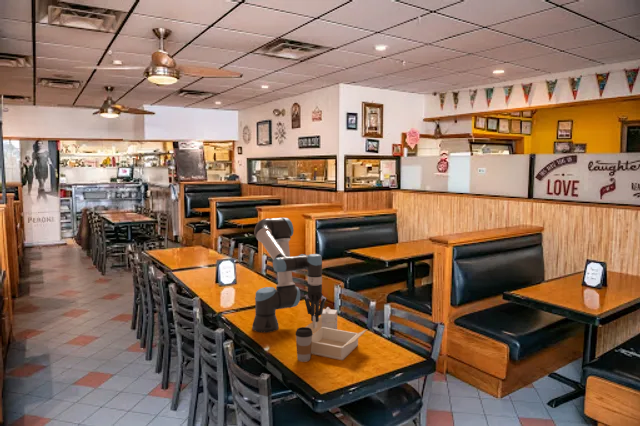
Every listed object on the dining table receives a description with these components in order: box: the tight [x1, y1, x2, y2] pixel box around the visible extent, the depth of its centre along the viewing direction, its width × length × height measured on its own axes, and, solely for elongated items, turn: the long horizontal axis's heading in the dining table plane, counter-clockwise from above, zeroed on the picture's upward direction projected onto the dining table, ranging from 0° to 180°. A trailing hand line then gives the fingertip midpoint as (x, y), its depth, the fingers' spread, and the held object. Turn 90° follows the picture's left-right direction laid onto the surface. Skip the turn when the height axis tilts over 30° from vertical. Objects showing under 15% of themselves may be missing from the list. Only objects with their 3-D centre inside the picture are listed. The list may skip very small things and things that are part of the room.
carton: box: [311, 327, 359, 361], centre depth 237 cm, size 21×22×6 cm
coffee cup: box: [295, 326, 312, 363], centre depth 223 cm, size 8×8×15 cm
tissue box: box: [320, 306, 338, 330], centre depth 262 cm, size 9×8×13 cm
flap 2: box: [344, 328, 369, 347], centre depth 230 cm, size 6×19×1 cm
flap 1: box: [305, 315, 322, 334], centre depth 240 cm, size 6×19×1 cm
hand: (315, 327), depth 240 cm, fingers closed
